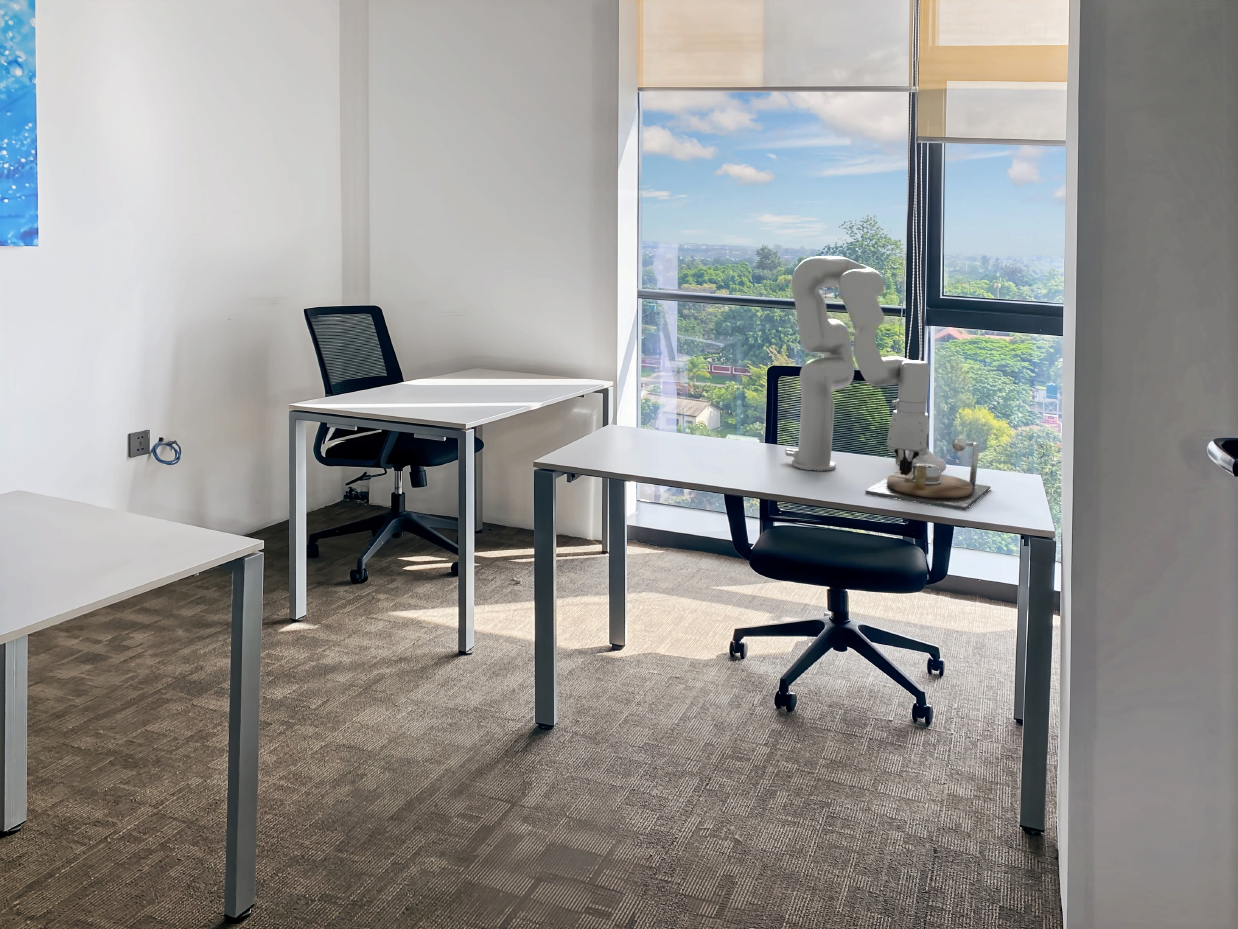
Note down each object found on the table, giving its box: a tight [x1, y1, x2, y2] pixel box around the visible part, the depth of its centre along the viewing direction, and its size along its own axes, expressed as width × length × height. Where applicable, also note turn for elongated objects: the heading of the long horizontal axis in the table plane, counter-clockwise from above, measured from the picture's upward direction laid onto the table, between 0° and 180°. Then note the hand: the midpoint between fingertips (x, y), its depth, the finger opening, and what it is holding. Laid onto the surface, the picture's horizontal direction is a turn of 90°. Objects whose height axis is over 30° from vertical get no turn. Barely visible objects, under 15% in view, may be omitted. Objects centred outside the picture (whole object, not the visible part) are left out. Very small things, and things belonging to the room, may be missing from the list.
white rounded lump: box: [906, 448, 947, 474], centre depth 298 cm, size 6×8×12 cm
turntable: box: [886, 465, 973, 498], centre depth 278 cm, size 22×22×7 cm
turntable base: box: [864, 437, 992, 511], centre depth 277 cm, size 26×26×14 cm
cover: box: [911, 464, 941, 485], centre depth 278 cm, size 8×8×4 cm
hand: (905, 474), depth 282 cm, fingers closed
